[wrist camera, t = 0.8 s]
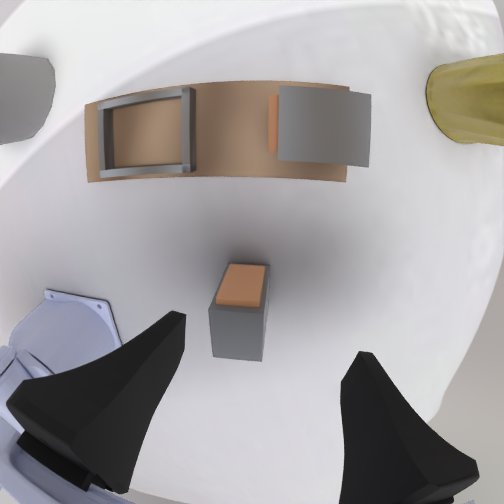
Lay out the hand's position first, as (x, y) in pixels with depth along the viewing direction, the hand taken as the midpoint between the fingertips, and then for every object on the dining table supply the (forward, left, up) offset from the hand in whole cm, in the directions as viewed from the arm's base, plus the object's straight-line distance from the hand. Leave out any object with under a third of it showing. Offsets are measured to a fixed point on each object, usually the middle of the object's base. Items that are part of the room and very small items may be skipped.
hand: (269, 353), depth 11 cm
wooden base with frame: (-5, +9, -10) cm, 14 cm away
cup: (-23, +15, -10) cm, 29 cm away
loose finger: (-2, -2, -10) cm, 10 cm away
